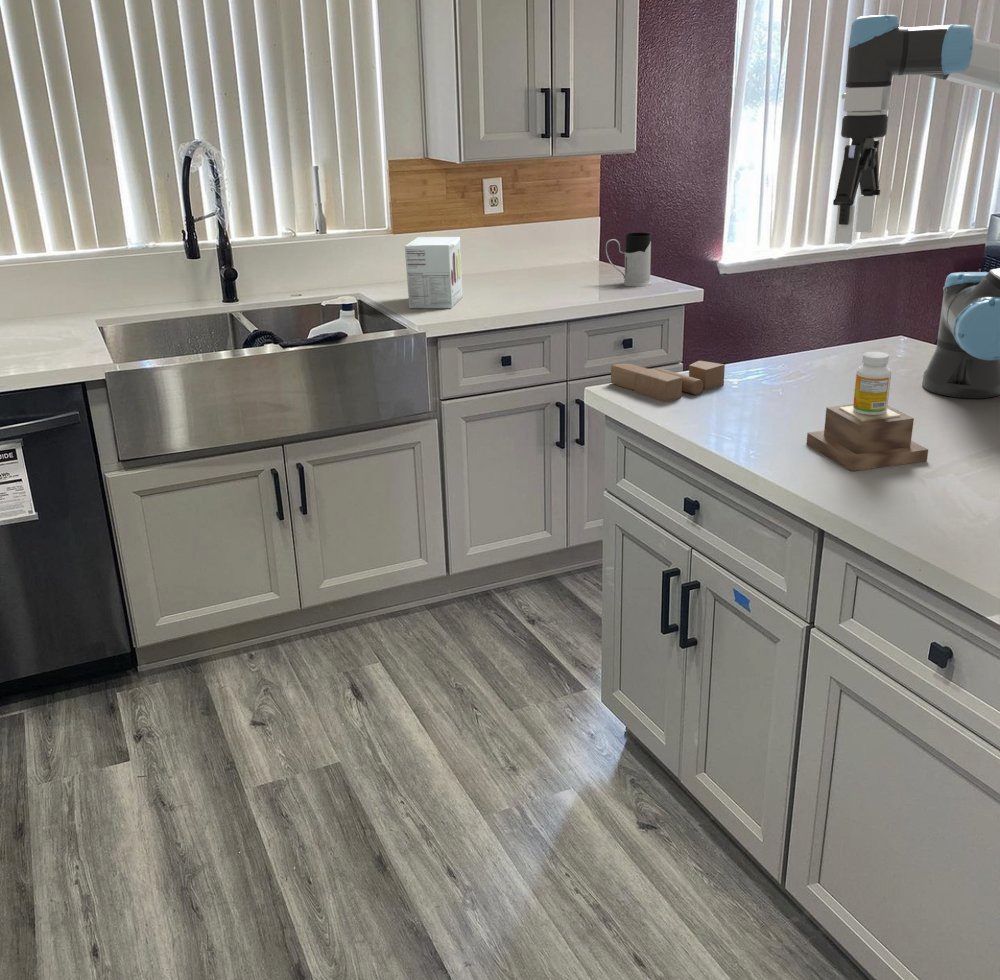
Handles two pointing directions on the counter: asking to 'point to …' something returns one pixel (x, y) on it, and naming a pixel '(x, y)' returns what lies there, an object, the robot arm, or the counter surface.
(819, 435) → the plinth
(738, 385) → the counter surface
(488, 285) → the counter surface
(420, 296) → the supplement box
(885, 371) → the supplement bottle
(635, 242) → the glass holder
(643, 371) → the wooden block set
